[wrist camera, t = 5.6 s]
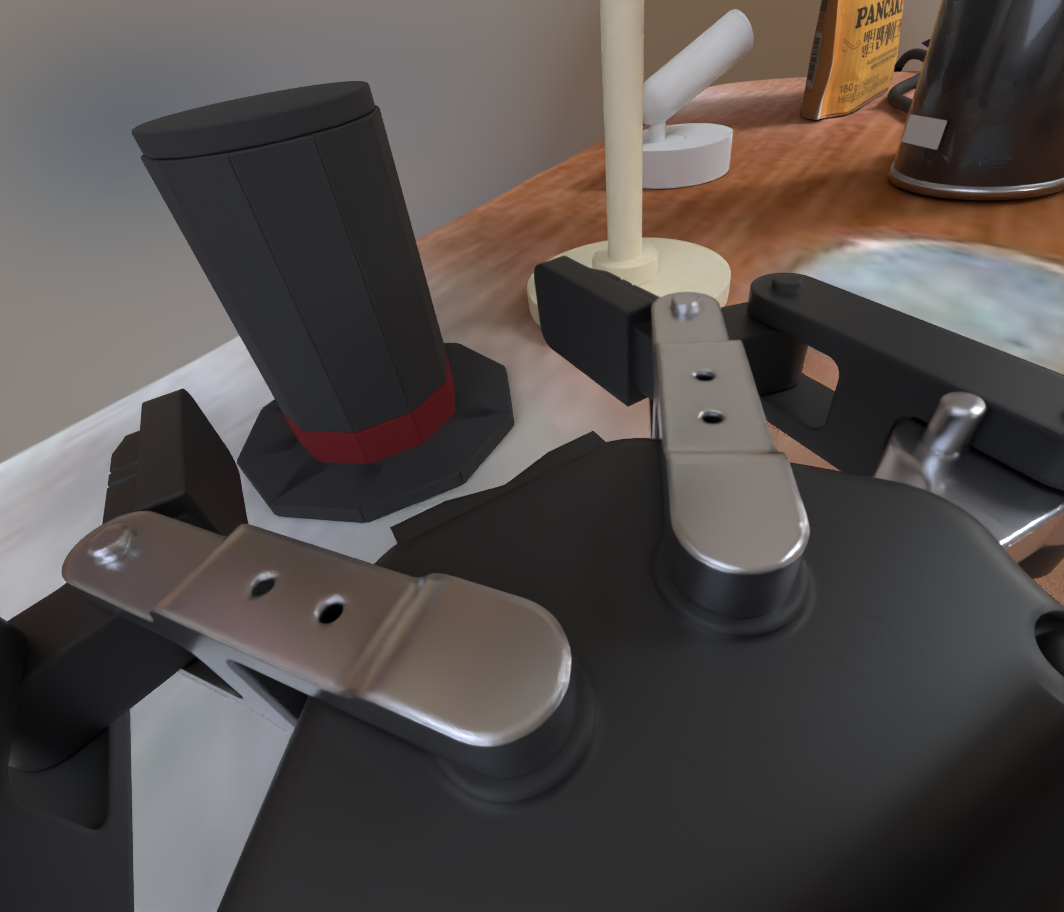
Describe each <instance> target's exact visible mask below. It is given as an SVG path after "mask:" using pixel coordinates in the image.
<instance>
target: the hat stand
mask: <svg viewBox="0 0 1064 912" xmlns="http://www.w3.org/2000/svg"><path fill="white" fill-rule="evenodd" d="M600 13H601V14H600V15H601V44H602V76H603V106H604V137H605V168H606V198H607V229H608V241H602V242H597V243H592V244H588V245H584V246H581V247H577V248H574V249H571V250H569V251H566V252H563V253H561V254H559V255H557V256H555V257H553V258H551V259H549V260H548V261H550V260H552V259H555V258H558V257H561V256H567V257H569V258H571V259H573V260H575V261H577V262H579V263H581V264H583V265H585V266H587V267H589V268H592V269H598V270H603V271H608V272H610V273H612V274H614V275H616V276H618V277H620V278H621V280H622V279H624V280H626V281H628V282H630V283H632V285H636V286H638V287H640V288H642V289H644V290H646V291H648V292H650V293H652V294H655V295H657V296H659V297H662V296H665V295H668V294H672V293H678V292H696V293H702V294H706V295H709V296H711V297H713V298H715V299H716V300H717V301H718V302H719V304H720V308H721V307H725V305H726V303H727V300H728V294H729V286H730V279H731V272H730V268H729V266H728V263H727V262H726V261H725V260H724V258H722V257H721V256H720V255H719V254H717V253H716V252H714V251H712V250H710V249H708V248H706V247H703V246H700V245H697V244H694V243H690V242H686V241H680V240H675V239H666V238H642V157H643V51H644V0H600ZM546 262H547V261H546ZM527 296H528V303H529V310H530V313H531V316H532V318H533V319H534V321H535V322H536V323H537V324H538V325H539V326H540V320H539V313H538V305H537V298H536V290H535V282H534V272H533V273H532V275H531V276H530V278H529V280H528V284H527Z"/></svg>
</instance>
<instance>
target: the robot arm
mask: <svg viewBox="0 0 1064 912" xmlns="http://www.w3.org/2000/svg"><path fill="white" fill-rule="evenodd" d="M911 59H917V60H920V61H922V62H924V63H923V66H922V70H921V72H920V73H918V74H916V75H915V76H913V77H911V78H909V79H906V80H904V81H902V82H900V83H898V84H897V85H895V86H894V87H893V88H892V89H891V90H890V91H889V94H888V101H889V103H890V104H891V105H892V106H894V107H896V108H898V109H900V110H902V111H904V112H905V113H907V114H908V116H907V119H906V123H905V126H904V130H903V133H902V136H901V140H900V143H899V147H898V150H897V153H896V157H895V160H894V161H893V162H892V164H891V168H890V171H889V175H888V178H889V180H890V182H891V183H893V184H894V185H896V186H898V187H900V188H902V189H905V190H908V191H911V192H914V193H918V194H922V195H927V196H933V197H940V198H947V199H959V200H985V201H991V200H1013V199H1023V198H1032V197H1038V196H1043V195H1048V194H1052V193H1056V192H1059V191H1062V190H1064V0H942V3H941V6H940V9H939V12H938V16H937V19H936V23H935V26H934V29H933V33H932V36H931V39H930V43H929V46H928V50H927V51H926V50H923V49H912V50H910V51H908V52H906V53H905V54H903V55H902V56H901V57H900V59H899V60H898V61H897V63H896V65H895V68H894V72H901V71H902V69H903V67H904V65H905V64H906V63H907V62H908V60H911ZM915 86H917V87H916V90H915V93H914V97H913V100H912V99H909V98H907V97H905V96H903V95H902V94H901V93H903V92H905V91H907V90H909V89H911V88H913V87H915ZM534 282H535V290H536V298H537V305H538V313H539V320H540V327H541V331H542V334H543V337H544V339H545V341H546V342H547V344H548V345H549V346H550V347H551V348H552V349H553V350H554V351H556V352H557V353H558V354H559V355H561V356H562V357H563V358H565V359H566V360H567V361H569V362H570V363H571V364H573V365H574V366H575V367H577V368H578V369H579V370H580V371H582V372H583V373H584V374H586V375H587V376H588V377H590V378H591V379H592V380H594V381H595V382H596V383H597V384H599V385H600V386H601V387H603V388H604V389H605V390H607V391H608V392H609V393H611V394H612V395H613V396H615V397H616V398H617V399H618V400H620V401H621V402H622V403H624V404H625V405H626V406H630V405H632V404H634V403H636V402H638V401H641V400H643V399H645V398H647V397H648V398H649V428H650V438H632V439H621V440H615V441H610V442H605V441H604V440H603V439H602V438H601V437H600V436H599V435H597V434H596V433H595V432H594V431H592V432H590V433H587V434H585V435H583V436H581V437H579V438H577V439H575V440H573V441H571V442H569V443H566V444H564V445H562V446H560V447H558V448H556V449H554V450H552V451H550V452H548V453H546V454H545V455H544V456H542V457H541V458H540V459H539V460H537V461H536V462H535V463H533V464H532V465H531V466H529V467H528V468H527V469H525V470H524V471H523V472H522V473H520V474H519V475H518V476H516V477H515V478H514V479H512V480H511V481H510V482H508V483H507V484H505V485H502V486H499V487H496V488H492V489H489V490H485V491H481V492H478V493H474V494H470V495H466V496H463V497H459V498H455V499H452V500H448V501H445V502H443V503H441V504H438V505H436V506H434V507H432V508H430V509H428V510H426V511H424V512H422V513H420V514H417V515H415V516H413V517H411V518H409V519H407V520H405V521H403V522H401V523H399V524H396V525H394V526H392V527H390V528H391V530H392V532H393V534H394V537H395V539H396V541H397V544H396V545H395V546H393V547H392V548H391V549H390V550H388V551H387V552H386V553H385V554H384V555H383V556H382V557H381V558H380V559H378V561H377V562H376V563H375V564H371V563H368V562H365V561H362V560H359V559H355V558H352V557H349V556H346V555H343V554H340V553H337V552H334V551H330V550H327V549H324V548H321V547H318V546H315V545H312V544H309V543H306V542H302V541H299V540H296V539H293V538H290V537H287V536H284V535H281V534H277V533H274V532H271V531H268V530H265V529H262V528H259V527H256V526H252V525H249V524H248V520H247V515H246V509H245V503H244V497H243V491H242V486H241V480H240V474H239V471H238V468H237V465H236V463H235V461H234V459H233V457H232V455H231V453H230V452H229V450H228V448H227V447H226V445H225V444H224V442H223V441H222V440H221V438H220V437H219V435H218V434H217V432H216V431H215V429H214V428H213V426H212V425H211V424H210V422H209V421H208V419H207V418H206V416H205V415H204V413H203V412H202V410H201V409H200V408H199V406H198V405H197V403H196V402H195V400H194V399H193V398H192V396H191V395H190V394H189V393H188V392H187V391H186V390H185V389H180V390H177V391H175V392H172V393H169V394H166V395H163V396H160V397H158V398H155V399H152V400H149V401H146V402H143V403H142V411H141V425H140V431H138V432H135V433H132V434H129V435H127V436H125V438H124V439H123V440H122V442H121V443H120V444H119V446H118V447H117V449H116V450H115V451H114V453H113V454H112V458H111V465H110V472H111V474H109V480H108V486H109V488H107V494H106V501H105V509H104V516H103V523H102V525H101V526H99V527H98V528H96V529H94V530H93V531H92V532H90V533H89V534H87V535H86V536H85V537H84V538H83V539H82V540H80V541H79V542H78V543H77V544H76V545H75V546H74V547H73V549H72V550H71V551H70V553H69V554H68V555H67V557H66V559H65V561H64V563H63V566H62V577H63V578H64V580H65V581H66V582H67V583H66V584H64V585H63V586H62V587H60V588H59V589H57V590H56V591H55V592H53V593H52V594H50V595H48V596H47V597H45V598H44V599H42V600H40V601H39V602H37V603H36V604H34V605H32V606H31V607H29V608H28V609H26V610H25V611H23V612H21V613H20V614H18V615H17V616H15V617H13V618H12V619H10V620H9V621H6V620H4V619H3V618H1V617H0V912H134V881H133V831H132V781H131V731H130V708H131V707H133V706H134V705H135V704H137V703H138V702H139V701H140V700H142V699H143V698H144V697H145V696H147V695H148V694H149V693H151V692H152V691H153V690H154V689H156V688H157V687H158V686H160V685H161V684H162V683H163V682H165V681H166V680H167V679H168V678H170V677H171V676H172V675H174V674H175V673H176V672H177V671H178V672H179V673H181V674H182V675H184V676H186V677H188V678H190V679H192V680H194V681H196V682H198V683H200V684H202V685H203V686H205V687H207V688H209V689H211V690H213V691H215V692H217V693H219V694H221V695H223V696H225V697H227V698H229V699H231V700H233V701H235V702H237V703H239V704H241V705H243V706H245V707H247V708H249V709H251V710H253V711H254V712H256V713H258V714H260V715H261V716H263V717H264V718H266V719H267V720H269V721H270V722H272V723H273V724H275V725H276V726H277V727H279V728H280V729H282V730H283V731H285V732H286V733H288V734H290V735H291V738H290V740H289V743H288V745H287V747H286V750H285V752H284V754H283V757H282V759H281V761H280V764H279V766H278V768H277V771H276V773H275V775H274V778H273V780H272V783H271V785H270V787H269V790H268V792H267V794H266V797H265V799H264V801H263V804H262V806H261V808H260V811H259V813H258V816H257V818H256V820H255V823H254V825H253V827H252V830H251V832H250V834H249V837H248V839H247V841H246V844H245V846H244V848H243V851H242V853H241V856H240V858H239V860H238V863H237V865H236V867H235V870H234V872H233V874H232V877H231V879H230V881H229V884H228V886H227V889H226V891H225V893H224V896H223V898H222V900H221V903H220V905H219V907H218V910H217V912H1064V606H1063V605H1062V604H1060V603H1059V602H1058V601H1057V600H1055V599H1054V598H1053V597H1052V596H1051V595H1049V594H1048V593H1047V592H1046V591H1045V590H1044V589H1043V588H1042V587H1041V586H1039V585H1038V584H1037V583H1036V582H1035V581H1034V580H1033V579H1034V578H1040V577H1043V576H1045V575H1047V574H1049V573H1050V572H1051V571H1052V570H1053V569H1054V568H1055V567H1056V566H1057V565H1058V564H1059V562H1060V561H1061V560H1062V559H1063V558H1064V375H1063V374H1060V373H1058V372H1055V371H1052V370H1050V369H1047V368H1045V367H1042V366H1039V365H1037V364H1034V363H1032V362H1029V361H1026V360H1024V359H1021V358H1019V357H1016V356H1014V355H1011V354H1008V353H1006V352H1003V351H1001V350H998V349H995V348H993V347H990V346H988V345H985V344H982V343H980V342H977V341H975V340H972V339H970V338H967V337H964V336H962V335H959V334H957V333H954V332H951V331H949V330H946V329H944V328H941V327H939V326H936V325H933V324H931V323H928V322H926V321H923V320H920V319H918V318H915V317H913V316H910V315H907V314H905V313H902V312H900V311H897V310H895V309H892V308H889V307H887V306H884V305H882V304H879V303H876V302H874V301H871V300H869V299H866V298H863V297H861V296H858V295H856V294H853V293H851V292H848V291H845V290H843V289H840V288H838V287H835V286H832V285H830V284H827V283H825V282H822V281H820V280H817V279H814V278H812V277H809V276H806V275H802V274H796V273H774V274H768V275H764V276H761V277H759V278H757V279H755V280H754V281H753V282H752V284H751V287H750V294H749V300H748V302H746V303H741V304H736V305H731V306H726V307H721V308H720V304H719V302H718V301H717V300H716V299H715V298H713V297H711V296H709V295H706V294H702V293H696V292H678V293H672V294H668V295H665V296H662V297H659V296H657V295H655V294H652V293H650V292H648V291H646V290H644V289H642V288H640V287H638V286H636V285H632V283H630V282H628V281H626V280H624V279H622V280H621V278H620V277H618V276H616V275H614V274H612V273H610V272H608V271H603V270H598V269H592V268H589V267H587V266H585V265H583V264H581V263H579V262H577V261H575V260H573V259H571V258H569V257H567V256H561V257H558V258H555V259H552V260H550V261H547V262H544V263H541V264H538V265H536V267H535V269H534ZM808 346H810V347H812V348H814V349H816V350H818V351H820V352H822V353H824V354H826V355H828V356H830V357H831V358H832V359H833V360H834V361H835V363H836V364H837V366H838V369H839V380H838V383H837V386H836V390H835V391H833V390H831V389H829V388H828V387H826V386H824V385H822V384H820V383H819V382H817V381H815V380H813V379H811V378H810V377H808V376H806V375H804V374H802V373H801V372H802V368H803V364H804V360H805V356H806V352H807V348H808ZM766 420H767V421H768V422H769V423H771V424H772V425H774V426H775V427H777V428H778V429H780V430H781V431H783V432H784V433H786V434H787V435H789V436H790V437H792V438H793V439H795V440H796V441H798V442H799V443H800V444H802V445H803V446H805V447H806V448H808V449H809V450H811V451H812V452H814V453H815V454H817V455H818V456H820V457H821V458H823V459H824V460H826V461H827V462H828V463H830V464H831V465H833V466H834V467H836V468H837V469H839V470H840V471H835V470H830V469H824V468H819V467H813V466H808V465H802V464H796V463H791V462H789V460H788V458H787V456H786V455H785V454H784V453H783V452H778V451H777V450H776V449H775V447H774V444H773V440H772V437H771V434H770V430H769V427H768V424H767V421H766ZM841 471H842V472H841Z"/></svg>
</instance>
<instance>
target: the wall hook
mask: <svg viewBox="0 0 1064 912" xmlns="http://www.w3.org/2000/svg"><path fill="white" fill-rule="evenodd" d="M752 46H753V31H752V27H751V25H750V22H749V21H748V19H747V18H746V16H745V15H744V14H743V13H742V12H740V11H739V10H731V11H729V12H728V13H727V14H726V15H724V16H723V17H722V18H721V19H720V20H718V21H717V22H716V23H715V24H714V25H712V26H711V27H710V28H709V29H708V30H706V31H705V32H704V33H703V34H702V35H700V36H699V37H698V38H697V39H696V40H694V41H693V42H692V43H691V44H690V45H688V46H687V47H686V48H685V49H684V50H682V51H681V52H680V53H679V54H678V55H677V56H675V57H674V58H673V59H672V60H670V61H669V62H668V63H667V64H666V65H664V66H663V67H662V68H661V69H660V70H658V71H657V72H656V73H655V74H654V75H652V77H650V78H649V79H648V80H647V81H646V82H644V84H643V123H644V124H646V125H649V129H646V130H643V157H642V188H651V189H664V188H678V187H686V186H692V185H697V184H702V183H706V182H709V181H712V180H715V179H717V178H720V177H722V176H723V175H725V174H726V173H727V172H728V171H729V165H730V156H731V146H732V137H733V130H732V129H731V128H729V127H727V126H723V125H718V124H708V123H690V124H676V125H667V126H665V125H666V120H668V119H669V118H670V117H671V116H673V115H674V114H675V113H676V112H678V111H679V110H680V109H681V108H682V107H684V106H685V105H686V104H687V103H689V102H690V101H691V100H692V99H693V98H695V97H696V96H697V95H698V94H700V93H701V92H702V91H703V90H704V89H706V88H707V87H708V86H709V85H710V84H712V83H713V82H714V81H715V80H717V79H718V78H719V77H720V76H721V75H723V74H724V73H725V72H726V71H728V70H729V69H730V68H731V67H732V66H734V65H735V64H736V63H737V62H738V61H740V60H741V59H742V58H743V57H744V56H746V55H747V54H748V53H749V52H750V51H751V49H752Z"/></svg>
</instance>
